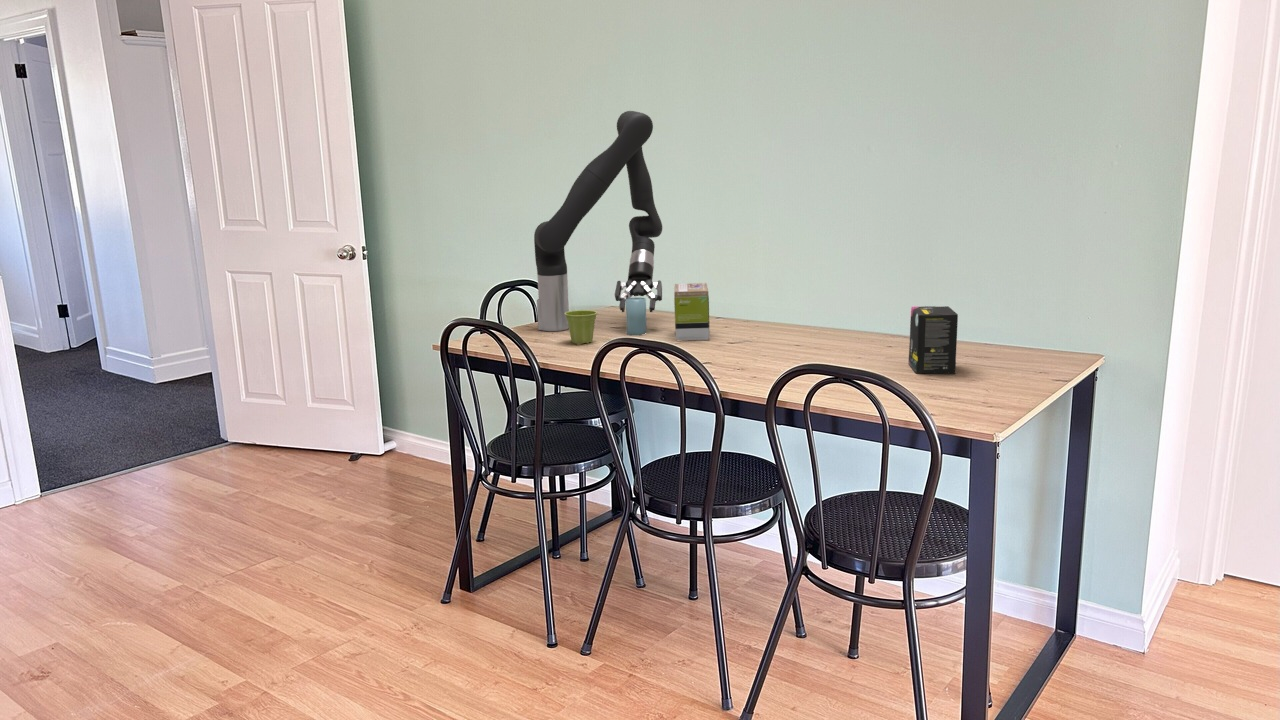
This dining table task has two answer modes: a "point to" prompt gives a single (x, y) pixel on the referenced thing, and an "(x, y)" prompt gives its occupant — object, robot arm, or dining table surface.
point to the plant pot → (581, 325)
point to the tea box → (691, 311)
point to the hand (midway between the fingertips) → (636, 310)
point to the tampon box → (933, 340)
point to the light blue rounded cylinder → (636, 316)
